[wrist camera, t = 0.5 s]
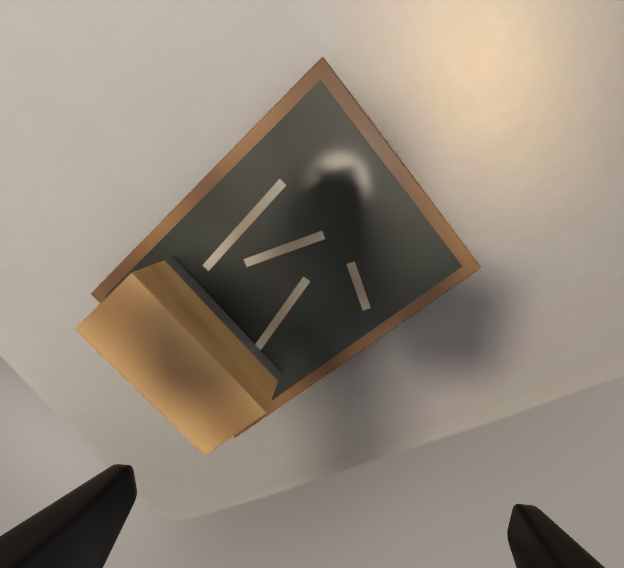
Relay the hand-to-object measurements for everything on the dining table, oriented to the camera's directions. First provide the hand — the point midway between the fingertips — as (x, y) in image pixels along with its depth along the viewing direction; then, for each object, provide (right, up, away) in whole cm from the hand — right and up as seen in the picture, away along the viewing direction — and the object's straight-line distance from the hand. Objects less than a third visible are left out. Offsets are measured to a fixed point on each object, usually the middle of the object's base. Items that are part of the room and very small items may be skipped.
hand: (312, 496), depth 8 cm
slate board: (-2, +5, +13) cm, 14 cm away
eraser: (-7, +1, +13) cm, 15 cm away
